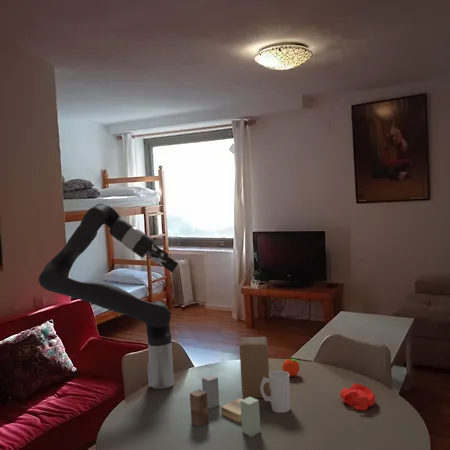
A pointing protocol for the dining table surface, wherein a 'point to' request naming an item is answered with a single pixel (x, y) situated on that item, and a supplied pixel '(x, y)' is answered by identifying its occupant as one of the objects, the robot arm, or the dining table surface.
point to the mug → (278, 391)
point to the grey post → (211, 390)
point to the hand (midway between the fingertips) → (175, 268)
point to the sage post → (250, 416)
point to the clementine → (291, 367)
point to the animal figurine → (358, 396)
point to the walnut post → (199, 408)
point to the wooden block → (254, 366)
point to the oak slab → (232, 410)
